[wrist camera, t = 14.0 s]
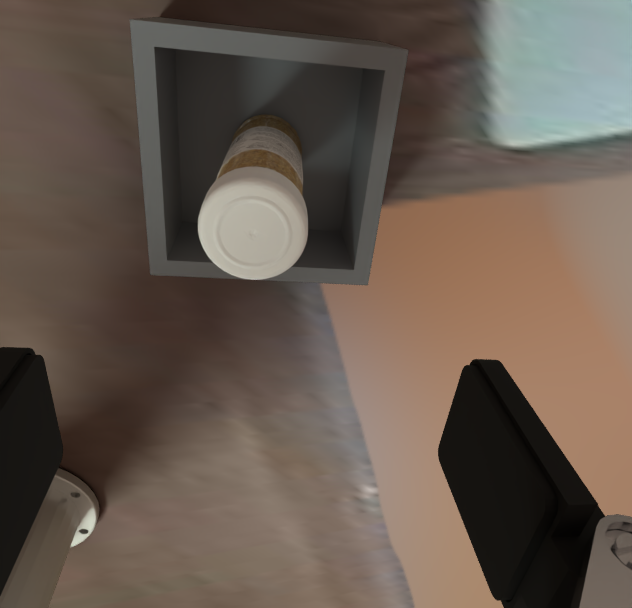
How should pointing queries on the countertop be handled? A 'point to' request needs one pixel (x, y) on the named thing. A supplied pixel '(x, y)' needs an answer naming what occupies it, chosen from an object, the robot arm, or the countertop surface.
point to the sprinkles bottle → (257, 202)
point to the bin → (264, 99)
